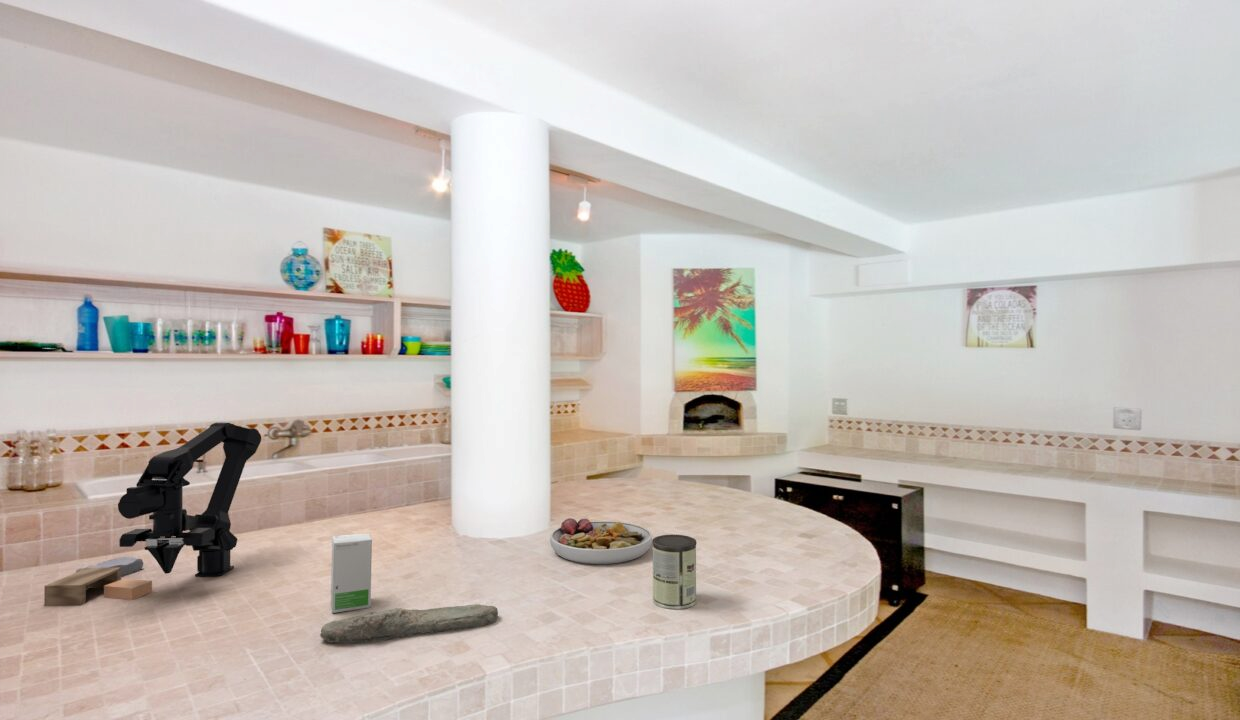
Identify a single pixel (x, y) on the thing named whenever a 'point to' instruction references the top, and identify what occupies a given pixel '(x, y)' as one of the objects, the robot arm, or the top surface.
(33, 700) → the top surface
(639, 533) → the bowl
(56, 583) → the shelf
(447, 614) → the elongated rock
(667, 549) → the coffee can
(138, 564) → the stone block
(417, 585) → the top surface
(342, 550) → the skincare box
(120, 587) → the peach cardboard box
